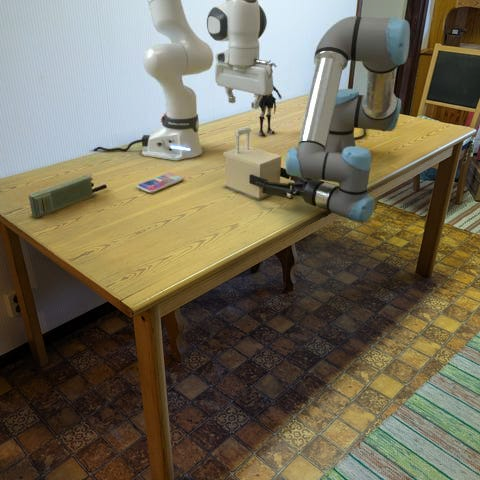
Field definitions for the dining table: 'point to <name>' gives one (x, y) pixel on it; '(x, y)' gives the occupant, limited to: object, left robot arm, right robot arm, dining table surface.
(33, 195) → the handheld radio
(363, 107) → the right robot arm
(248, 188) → the chest
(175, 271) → the dining table surface
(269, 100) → the figurine
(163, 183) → the smartphone
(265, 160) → the lid
